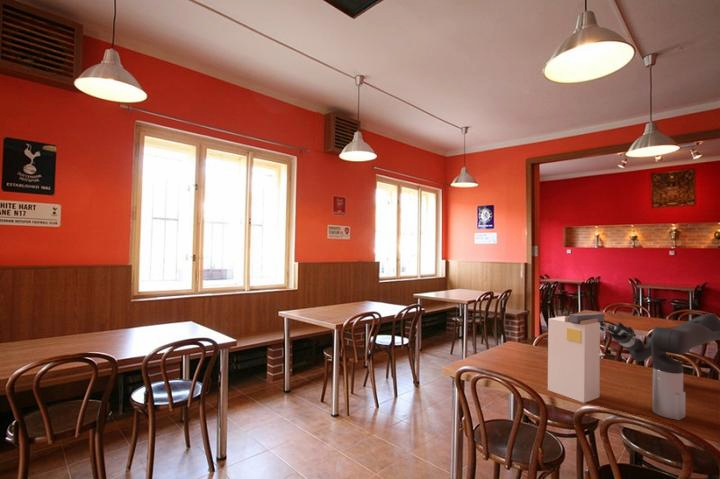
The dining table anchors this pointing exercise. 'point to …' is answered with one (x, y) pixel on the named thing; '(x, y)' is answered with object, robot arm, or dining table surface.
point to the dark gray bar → (585, 317)
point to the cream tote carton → (574, 358)
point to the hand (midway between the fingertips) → (608, 322)
